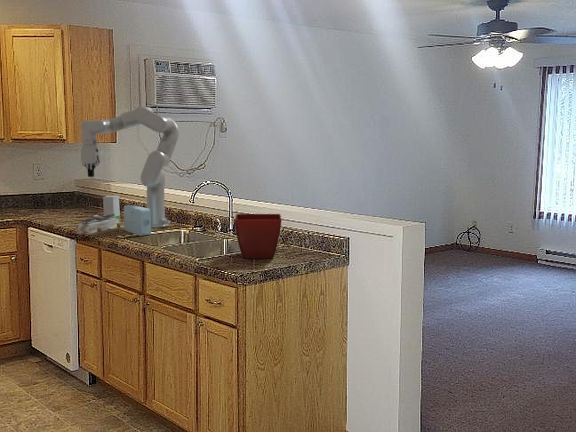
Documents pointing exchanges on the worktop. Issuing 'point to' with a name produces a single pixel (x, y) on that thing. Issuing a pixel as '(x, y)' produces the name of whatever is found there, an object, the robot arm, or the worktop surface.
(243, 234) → the plant pot
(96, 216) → the rocker
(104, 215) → the block
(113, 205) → the skincare box
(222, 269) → the worktop surface
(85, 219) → the block
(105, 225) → the switch unit
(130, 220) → the light blue rectangular block
